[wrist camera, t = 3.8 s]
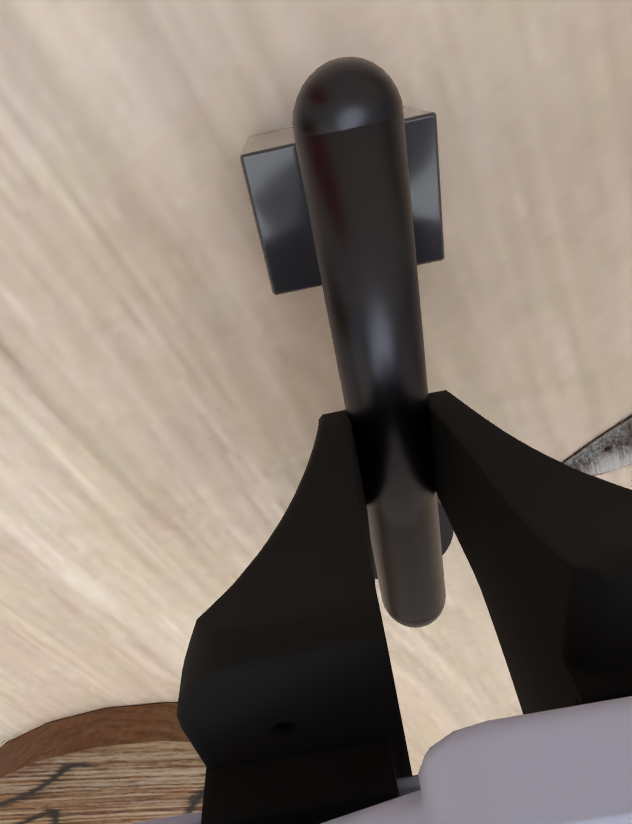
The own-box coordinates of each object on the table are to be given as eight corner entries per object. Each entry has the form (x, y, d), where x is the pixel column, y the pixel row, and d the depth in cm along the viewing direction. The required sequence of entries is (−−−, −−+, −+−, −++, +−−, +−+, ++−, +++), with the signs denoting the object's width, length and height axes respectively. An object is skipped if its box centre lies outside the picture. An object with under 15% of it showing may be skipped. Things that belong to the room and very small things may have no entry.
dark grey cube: (406, 220, 15) (445, 260, 12) (273, 248, 16) (273, 296, 12) (395, 103, 14) (437, 111, 10) (247, 136, 14) (239, 155, 10)
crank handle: (447, 545, 21) (501, 686, 16) (340, 564, 21) (361, 711, 16) (409, 44, 12) (502, 19, 7) (224, 86, 12) (192, 90, 7)
